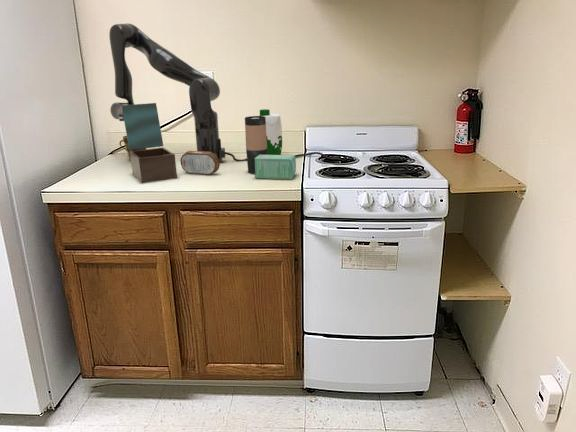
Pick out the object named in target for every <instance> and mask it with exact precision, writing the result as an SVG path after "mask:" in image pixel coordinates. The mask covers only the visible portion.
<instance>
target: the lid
mask: <svg viewBox="0 0 576 432" xmlns="http://www.w3.org/2000/svg"><path fill="white" fill-rule="evenodd" d="M157 106H158V105H157V103H156V102H152V103H149V102H148V103H137V104H135V103H134V105H122V112H123V118H124V121H123V122H124V128H125V133H126V136H127V140H128V145H129V150H135V149H144V148H146V149H154V148H163V147H164V139H163V135H162V129H161V124H160V119H159V113H158V107H157Z"/></svg>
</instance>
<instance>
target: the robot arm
mask: <svg viewBox="0 0 576 432" xmlns="http://www.w3.org/2000/svg"><path fill="white" fill-rule="evenodd" d="M108 36H109V45H110V50H111V57H112V64H113V70H114V95H115V96H116V98H118V99H123V100H125V101H126V102H120V101H119V102H118V101H117V102H113V103H112V104H111V106H110V109H109V111H110V114H111V116H112V118H113V119H115V120H118V121H119V122H124V118H123V112H122V105H134V104H135V102H134V101H135V100H134V97H133V75H132V73H131V70H130V68H129V66H128V64H127V62H126V61H127V60H126V55H125V54H126V49H127V48H128V49H129V48H132V49H135V50H136V51H139V52H140V53H141V54H143V55H144V56H145V58H146V60H147V62H148V64H149V65H150V66H151V68H153V69H154V70H155V71H157V72H158V73H159V74H161V75H162V76H164V77H166V78H168V79H171V80H172V81H176V82H179V83H182V84H184V85H186V86H188V95H189V104H190V110H191V114H192V116H193V121H194V132H195V133H194V134H195V142H196V151H204V152H212V153H213V154H215V155H216V156H217V158H218V160H219V164H220V163H223V159H226V156H227V155H228V156H230V157H231V158H232V159H233V161H235V162H247V158H243V159H239V158H236V156H235V155H234V154H233V153H230V152H228V151H226V148H225V147H222V140H221V138H220V132H219V119H218V118H219V117H218V112H217V111H215V110H214V109H213V108H212V103H211V102H214V101H215V100H217V99H218V98H219V97H220V95H221V89H220V85H219V84H218V82H217V80H215V79H214V78H212V77H211V76H208V75H206V74H204V73H202V72H201V71H200V70H197V69H195V68H194V67H192V66H191V65H190V64H189V63H187V62H185V61H184V60H183V59H181V58H180V57H178V56H177V55H176V54H174V53H173V52H171V51H170V50H168V49H167V48H165V47H164V46H162V45H160V44H159V43H158V42H157V41H155V40H153V39H152V38H151V37H149V36H148V35H147V34H145V33H144V32H143V31H142V30H141V29H140V28H139V27H137V26H136V25H134V24H133V23H115V24H113V25H111V27H110V28H109V33H108ZM312 155H319V156H322V157H323V158H326V156H327V155H326V154H325V153H322V152H320V151H312V152H308V153H307V152H306V153H298V154H295V155H294V156H295V158H298V157H299V158H300V157H305V156H312Z"/></svg>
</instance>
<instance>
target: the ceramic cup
mask: <svg viewBox="0 0 576 432" xmlns="http://www.w3.org/2000/svg"><path fill="white" fill-rule="evenodd" d="M122 142H123V143H124V146H125V147H124V146H123V145H122ZM118 145H119V147H121V148H122V149H124V151H126V152H127V155H128V158H129V161H130V162H131V157H130V151H136V150H145V149H147V148H144V149H135V150H129V145H128V140H127V135H124V136H122V139H121V140H120V141H119V144H118Z"/></svg>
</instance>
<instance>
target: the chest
mask: <svg viewBox="0 0 576 432" xmlns="http://www.w3.org/2000/svg"><path fill="white" fill-rule="evenodd" d="M130 157H131V161H130V164H131V171H132V175H133V177H135V178H136V179H137V180H138V181H139V182H140V184H145V183H153V182H159V181H160V182H161V181H167V180H173V179H178V173H177V164H176V162H177V161H176V155H175V153H174V152H172V151H170V150H168V148H165V147H153V148H146V149H145V150H136V151H130Z"/></svg>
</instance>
